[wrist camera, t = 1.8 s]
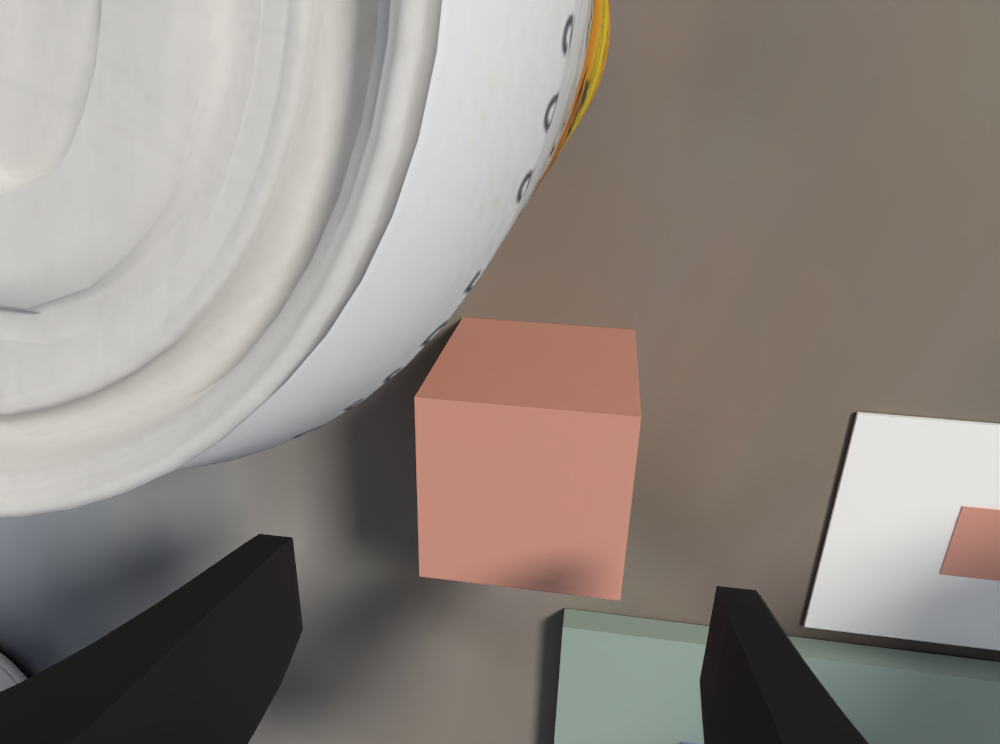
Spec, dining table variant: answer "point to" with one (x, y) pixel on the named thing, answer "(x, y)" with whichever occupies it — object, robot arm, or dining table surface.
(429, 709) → the dining table surface
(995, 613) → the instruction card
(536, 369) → the top brick
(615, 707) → the plate
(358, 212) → the beer can
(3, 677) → the chalice
